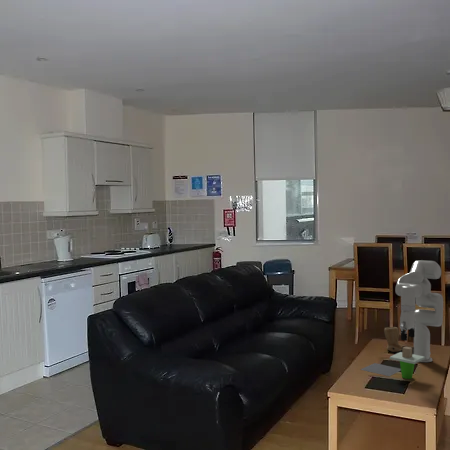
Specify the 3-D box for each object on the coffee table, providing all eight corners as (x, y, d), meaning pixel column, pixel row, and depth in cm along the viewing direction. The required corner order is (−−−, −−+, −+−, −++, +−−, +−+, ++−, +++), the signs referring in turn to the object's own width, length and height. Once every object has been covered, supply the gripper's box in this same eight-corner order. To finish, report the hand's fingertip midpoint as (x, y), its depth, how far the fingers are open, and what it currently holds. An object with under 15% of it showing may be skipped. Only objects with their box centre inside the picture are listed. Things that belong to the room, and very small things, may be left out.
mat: (374, 364, 321) (374, 363, 320) (403, 370, 308) (403, 369, 308) (360, 370, 307) (360, 369, 307) (389, 377, 295) (389, 376, 295)
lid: (400, 353, 303) (400, 343, 303) (424, 358, 294) (424, 347, 293) (389, 358, 293) (389, 347, 293) (414, 364, 283) (414, 352, 283)
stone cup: (385, 345, 364) (385, 324, 364) (403, 347, 359) (403, 326, 359) (382, 351, 350) (382, 328, 350) (401, 353, 345) (401, 330, 345)
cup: (416, 381, 288) (417, 361, 288) (399, 380, 290) (399, 360, 290) (414, 376, 297) (414, 357, 297) (397, 375, 299) (397, 356, 298)
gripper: (408, 304, 301) (407, 334, 302) (394, 309, 289) (394, 340, 289) (421, 306, 296) (420, 336, 297) (408, 311, 283) (407, 343, 284)
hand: (407, 338), depth 293 cm, fingers open, 9 cm apart
